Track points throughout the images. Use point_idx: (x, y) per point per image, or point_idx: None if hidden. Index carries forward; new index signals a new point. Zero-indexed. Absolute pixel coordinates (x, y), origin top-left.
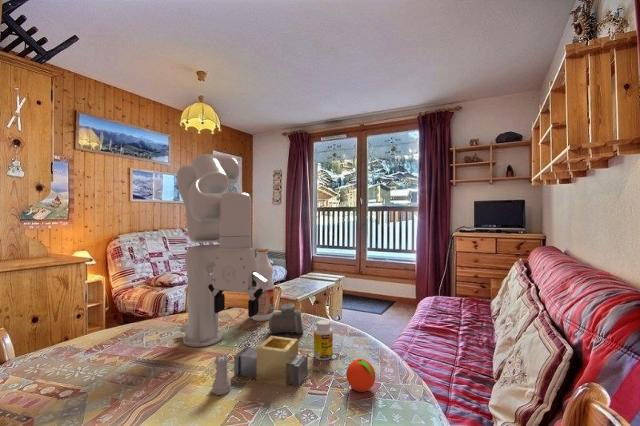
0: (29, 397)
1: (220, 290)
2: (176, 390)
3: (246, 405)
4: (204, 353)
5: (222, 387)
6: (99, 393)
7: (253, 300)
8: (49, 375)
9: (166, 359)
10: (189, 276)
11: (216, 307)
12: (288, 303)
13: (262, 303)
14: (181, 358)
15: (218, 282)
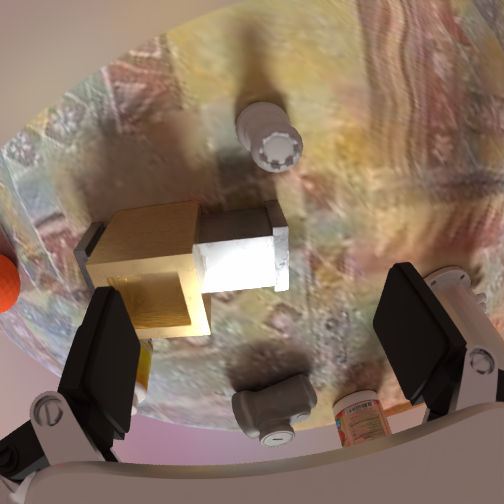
0: None
1: (440, 417)
2: (377, 90)
3: (151, 101)
4: (409, 257)
5: (246, 112)
6: (496, 58)
7: (68, 397)
8: None
9: (468, 205)
10: None
11: (412, 288)
12: (281, 444)
13: (357, 425)
14: (444, 219)
15: (496, 488)
